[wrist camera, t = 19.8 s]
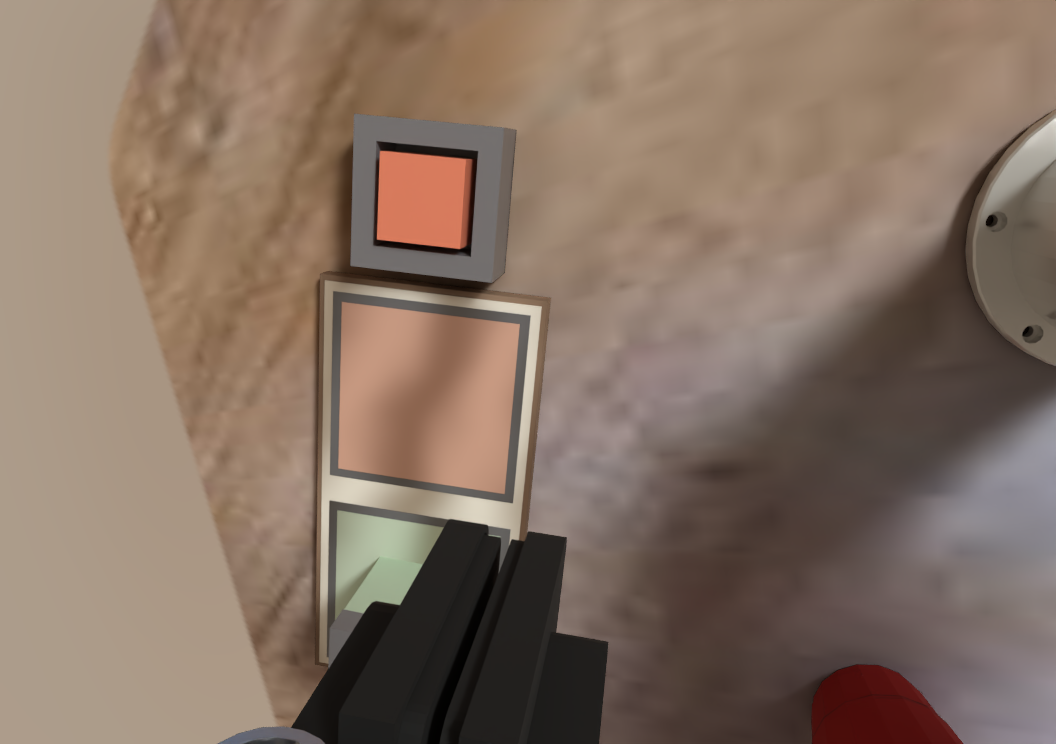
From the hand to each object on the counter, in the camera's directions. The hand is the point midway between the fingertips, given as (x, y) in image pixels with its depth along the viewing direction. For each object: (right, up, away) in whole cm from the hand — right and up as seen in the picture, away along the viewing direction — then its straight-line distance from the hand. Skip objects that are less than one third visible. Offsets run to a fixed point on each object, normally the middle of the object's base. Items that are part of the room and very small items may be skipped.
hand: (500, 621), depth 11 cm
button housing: (-4, +12, +28) cm, 31 cm away
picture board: (-5, -3, +32) cm, 33 cm away
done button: (-4, +12, +27) cm, 30 cm away
